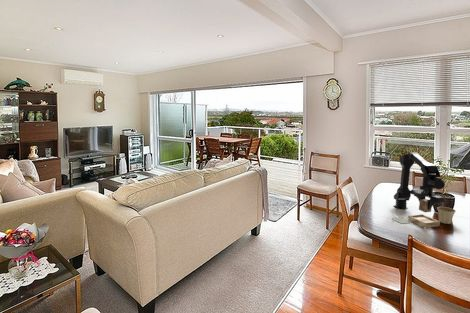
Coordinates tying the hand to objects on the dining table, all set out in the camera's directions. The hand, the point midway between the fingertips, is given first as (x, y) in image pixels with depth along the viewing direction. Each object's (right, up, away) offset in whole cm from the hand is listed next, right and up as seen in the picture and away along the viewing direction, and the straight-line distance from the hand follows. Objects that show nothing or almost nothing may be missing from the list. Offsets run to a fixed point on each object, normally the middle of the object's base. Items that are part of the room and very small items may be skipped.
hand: (425, 208), depth 166 cm
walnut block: (0, -2, 0) cm, 2 cm away
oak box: (0, -10, +2) cm, 10 cm away
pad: (-11, -9, +6) cm, 15 cm away
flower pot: (+15, -10, +3) cm, 18 cm away
